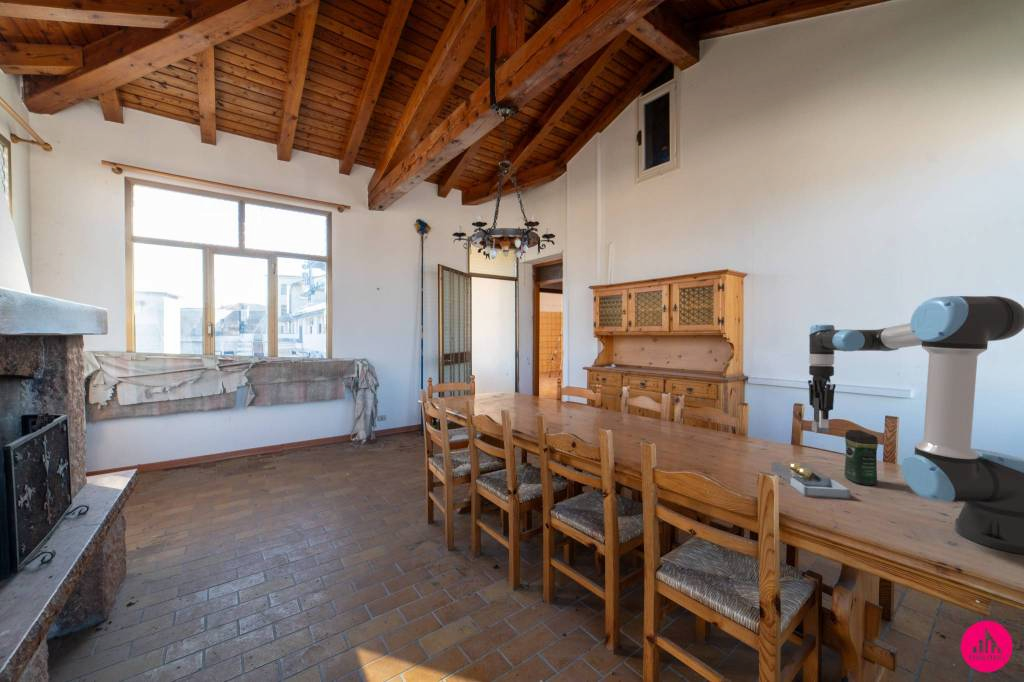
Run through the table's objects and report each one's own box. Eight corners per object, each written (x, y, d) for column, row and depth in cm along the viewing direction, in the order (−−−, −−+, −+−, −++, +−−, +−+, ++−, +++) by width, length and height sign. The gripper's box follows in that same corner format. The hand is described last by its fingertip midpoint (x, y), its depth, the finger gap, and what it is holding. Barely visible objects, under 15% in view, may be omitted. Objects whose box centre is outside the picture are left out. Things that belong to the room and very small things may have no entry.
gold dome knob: (814, 479, 146) (814, 471, 146) (802, 478, 146) (802, 470, 146) (808, 475, 150) (808, 467, 149) (796, 474, 150) (796, 466, 150)
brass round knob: (804, 473, 151) (804, 466, 151) (792, 473, 152) (793, 465, 152) (798, 470, 155) (798, 462, 155) (787, 469, 156) (787, 462, 156)
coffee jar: (881, 487, 144) (883, 435, 143) (856, 485, 145) (857, 434, 145) (864, 477, 153) (865, 428, 152) (840, 475, 155) (841, 427, 154)
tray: (849, 498, 134) (850, 489, 134) (804, 496, 136) (804, 487, 136) (832, 488, 142) (832, 479, 142) (790, 486, 145) (790, 477, 145)
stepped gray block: (829, 433, 152) (829, 398, 152) (816, 432, 153) (817, 398, 153) (824, 430, 155) (824, 397, 155) (811, 430, 156) (812, 397, 156)
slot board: (830, 488, 143) (830, 478, 142) (793, 486, 145) (793, 476, 144) (805, 472, 158) (805, 463, 158) (771, 470, 160) (771, 462, 160)
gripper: (846, 367, 145) (845, 431, 146) (819, 363, 161) (818, 422, 162) (823, 366, 146) (822, 431, 147) (799, 363, 162) (798, 421, 163)
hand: (820, 426), depth 154 cm, fingers closed on stepped gray block, 3 cm apart
